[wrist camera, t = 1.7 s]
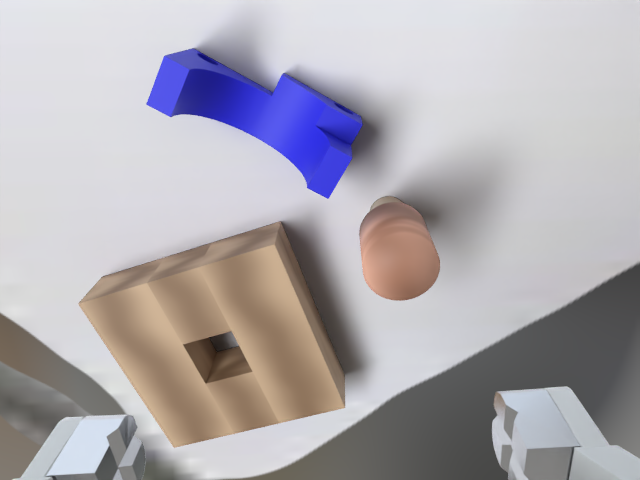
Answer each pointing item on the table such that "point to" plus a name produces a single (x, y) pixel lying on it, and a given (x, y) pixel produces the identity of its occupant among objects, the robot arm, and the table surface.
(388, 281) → the peg
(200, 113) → the cable clip
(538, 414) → the robot arm
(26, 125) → the table surface
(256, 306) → the board
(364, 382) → the table surface
